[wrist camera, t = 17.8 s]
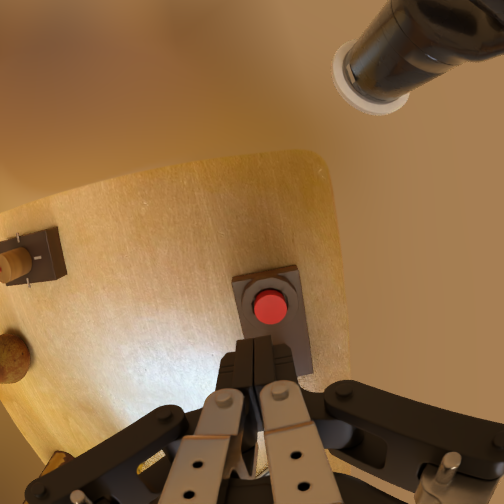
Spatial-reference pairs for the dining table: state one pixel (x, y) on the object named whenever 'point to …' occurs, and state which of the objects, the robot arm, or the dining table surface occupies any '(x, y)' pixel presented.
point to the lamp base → (293, 323)
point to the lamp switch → (270, 307)
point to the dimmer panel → (39, 256)
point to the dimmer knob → (14, 264)
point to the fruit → (13, 359)
